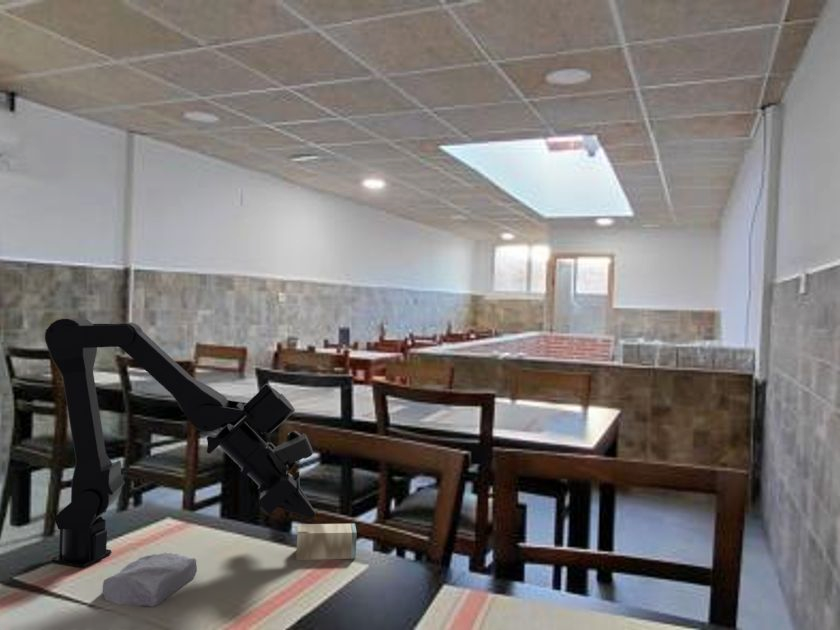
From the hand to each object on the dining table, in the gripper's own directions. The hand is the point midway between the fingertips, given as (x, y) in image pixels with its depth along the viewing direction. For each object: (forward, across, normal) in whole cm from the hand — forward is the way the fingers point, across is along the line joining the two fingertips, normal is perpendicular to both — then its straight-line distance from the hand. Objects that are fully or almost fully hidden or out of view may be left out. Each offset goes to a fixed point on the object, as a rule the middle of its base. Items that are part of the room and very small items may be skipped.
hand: (313, 515), depth 112 cm
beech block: (+1, 0, +5) cm, 5 cm away
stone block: (-12, -11, +22) cm, 28 cm away
